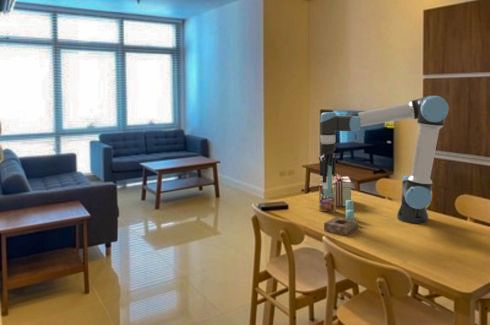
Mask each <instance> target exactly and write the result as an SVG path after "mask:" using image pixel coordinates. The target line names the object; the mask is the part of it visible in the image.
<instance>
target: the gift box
mask: <svg viewBox="0 0 490 325" xmlns="http://www.w3.org/2000/svg"><path fill="white" fill-rule="evenodd" d="M319 181H320V182H323V178H322V179H320V180H319ZM352 184H353V183H352V180H351V179H350V177H349V176H342V175H340V174H338V173H335V176H333V185H336V207H346V200H352V186H353V185H352Z"/></svg>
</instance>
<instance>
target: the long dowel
mask: <svg viewBox="0 0 490 325" xmlns="http://www.w3.org/2000/svg"><path fill="white" fill-rule="evenodd" d="M327 176H328V189H324V195H327V196H329V195H332V166H328V172H327Z"/></svg>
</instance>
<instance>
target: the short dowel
mask: <svg viewBox="0 0 490 325" xmlns="http://www.w3.org/2000/svg"><path fill="white" fill-rule="evenodd" d="M345 219H349V220H354V221H355V210H354V209H353V210H346V209H345Z"/></svg>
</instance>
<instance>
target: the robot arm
mask: <svg viewBox="0 0 490 325" xmlns="http://www.w3.org/2000/svg"><path fill="white" fill-rule="evenodd" d="M449 109H450V108H449V104H448V102H447V101H446V99H445V98H443V97H441V96H439V95H426V96H424V97H420V98H417V99H413V100H410V101H409V102H408V103H402V104H398V105H392V106H391V105H390V106H387V107H382V108H377V109H376V108H375V109H372V110H371V109H370V110H366V111H360V112H354V113H347V114H345V115H343V116H339V115H336V114H337V113H336V112H334V111H333V112H332V111H330V112H329V111H328V112H327V111H326V112H325V111H324V112H322V113H321V114H320V121H319V123H320V124H319V127H320V136H319V139H320V147H319V148H320V151H321V152H322V153H321V155H320V156H318V161H319V176H320V177H322V179H323V180H322V184H323V189H328V176H327V172H328V166H332V187H333V177H334V175H335V174H336V167H337V166H336V165H337V164H336V161H337V160H336V158H337V154H336V153H335V151H336V132H352V133H353V132H359V131H361V130H360V129H361V127H365V126H366V127H367V126H373V125H378V124H385V123H389V122H395V121H401V120H407V119H412V120H417V121H416V123H417V125H418V126H419V129H418V135H417V141H416V147H415V152H414V156H413V163H412V169H411V174H410V175H405V176H403V177H402V179H401V184H402V185H401V204H400V207H399V208H398V211H397V216H396V218H397V219H398V220H399V221H401V222H405V223H408V224H409V223H410V224H424V223H427V222H428V221H429V213H428V210H427V207H428V206H429V205H430V204H431V202H432V197H433V196H432V188H433V181H432V179H431V177H432V176H431V175H432V170H433V164H434V158H435V155H436V148H437V143H438V138H439V134H440V130H441V129H442V128H443V127H444V126H445V120H446V117H447V116H448V113H449ZM335 176H336V175H335Z"/></svg>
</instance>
